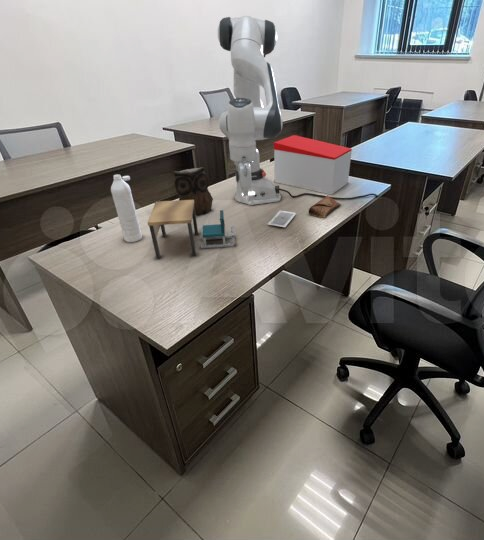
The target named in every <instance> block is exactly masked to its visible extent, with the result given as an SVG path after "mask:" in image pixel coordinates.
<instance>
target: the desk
mask: <svg viewBox="0 0 484 540" xmlns="http://www.w3.org/2000/svg"><path fill="white" fill-rule="evenodd" d="M179 224H180V225H182V224H183V225H184V224H187V225H186V226H187V231H188V236H189V242H190V248H191V255H192V257H196V256H197V252H196V244H195V239H194V238H195V237H194V235H195V236H198V235H199V228H198V223H197V215H196V214H195V207H194V200H179V199H177V200H162V201H155V202H154V204H153V207H152V210H151V212H150V215H149V217H148V220H147V226H148V227H149V232H150V236H151V240H152V245H153V249H154V253H155V257H156V259H157V260H158V259H161V257H162V256H161V253H160V248H159V244H158V235H159V231H160V230H161V234H162V235H161V236H162V238H166V237H167V232H166V227H165V226H166V225H179Z"/></svg>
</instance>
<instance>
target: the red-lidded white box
mask: <svg viewBox="0 0 484 540" xmlns="http://www.w3.org/2000/svg"><path fill="white" fill-rule="evenodd" d="M273 151H274V152H273V158H274V162H273V164H274V167H273V169H274V170H273V171H274V174H273V175H274V179H273V180H274V182H273V183H277V184H282V185H287V186H291V187H296V188H300V189H304V190H310V191H313V192H318V193H323V194H327V195H333V194H334V193H336V192H338V191H339V190H341V189H342V188H343V187H345V186H346V185H347V184H348V183H349V175H350V168H351V161H352V160H351V158H352V151H353V149H352V148H350V147H346V146H342V145H338V144H334V143H329V142H326V141H321V140H317V139H314V138H309V137H304V136H300V135H296V134H292V135H290V136H288V137H285V138H282V139H280V140H277V141H274V142H273ZM347 181H348V182H347Z"/></svg>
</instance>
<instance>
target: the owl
mask: <svg viewBox="0 0 484 540" xmlns="http://www.w3.org/2000/svg"><path fill="white" fill-rule="evenodd" d="M205 170H206V169H205V166H203V167H196V168H194V167H193V168H190V169H189V168H187V169H183V170H180V171H173V176H174V184H173V185H174V188H175V189H174V190H175V191H176V193H177V196H178V200H194V207H195V214H196V217H197V216H201V215H206V214H208V213H209V212H211V211H212V206H213V202H214V198H213V196H212V194H211V192H210V191H209V189H208V188H209V186H210V180H209V177H208V175H207V174H206V173H205Z"/></svg>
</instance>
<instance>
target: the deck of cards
mask: <svg viewBox="0 0 484 540" xmlns="http://www.w3.org/2000/svg"><path fill="white" fill-rule="evenodd" d="M296 215H297V212H293V211H286V210H278V212H277V213H276V214H275V215H274V216H273V218H271V220H270V221H268V223H267V225H268V226H269V225H270V226H274V227H275V226H276V227H280V228H281V227H282V228H286V227H287V226H288V225H289V224H290V222H291V221H292V220H293V219H294V217H295V216H296Z"/></svg>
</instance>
